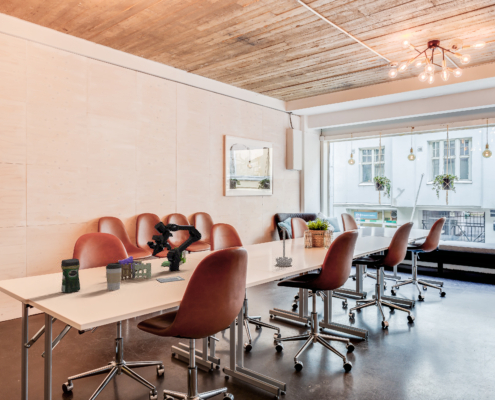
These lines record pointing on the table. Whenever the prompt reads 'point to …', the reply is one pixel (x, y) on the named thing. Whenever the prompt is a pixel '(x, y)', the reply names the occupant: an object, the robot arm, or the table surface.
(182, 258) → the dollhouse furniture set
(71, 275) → the coffee jar
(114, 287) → the coffee cup
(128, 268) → the walnut fence section
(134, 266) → the sage fence section
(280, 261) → the flag stand
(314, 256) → the table surface
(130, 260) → the toy sofa
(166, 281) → the card
